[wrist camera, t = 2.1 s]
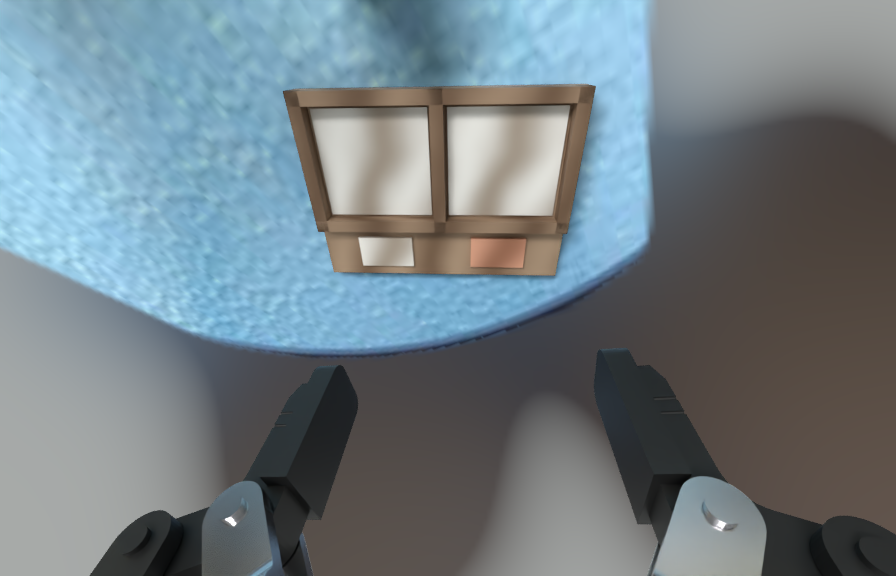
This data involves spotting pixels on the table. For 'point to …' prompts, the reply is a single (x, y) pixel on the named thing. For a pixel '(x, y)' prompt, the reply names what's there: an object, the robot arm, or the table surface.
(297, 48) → the table surface
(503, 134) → the board
